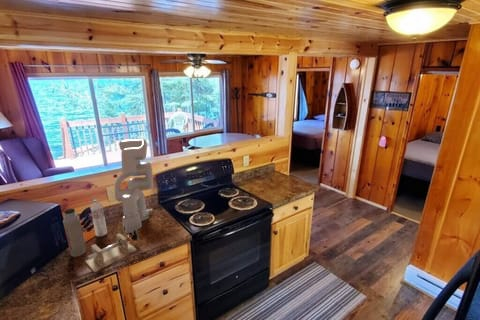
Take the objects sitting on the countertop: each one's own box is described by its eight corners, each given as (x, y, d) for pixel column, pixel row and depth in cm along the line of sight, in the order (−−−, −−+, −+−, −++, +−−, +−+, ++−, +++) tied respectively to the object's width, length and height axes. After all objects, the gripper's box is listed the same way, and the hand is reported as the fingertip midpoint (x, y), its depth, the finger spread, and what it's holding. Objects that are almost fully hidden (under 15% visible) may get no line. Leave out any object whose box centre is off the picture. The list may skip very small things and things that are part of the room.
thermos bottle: (72, 258, 147) (61, 215, 139) (69, 251, 153) (59, 209, 144) (87, 252, 152) (78, 210, 143) (85, 246, 158) (76, 205, 149)
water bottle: (93, 236, 168) (86, 201, 161) (101, 230, 174) (95, 197, 167) (101, 237, 166) (95, 203, 159) (109, 232, 172) (103, 198, 165)
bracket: (126, 242, 161) (124, 229, 158) (136, 250, 154) (134, 236, 151) (85, 262, 144) (82, 248, 141) (94, 272, 136) (91, 257, 133)
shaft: (128, 239, 158) (127, 233, 156) (132, 242, 155) (131, 236, 154) (87, 259, 140) (86, 252, 139) (90, 263, 138) (89, 256, 136)
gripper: (138, 206, 160) (142, 231, 166) (115, 216, 149) (120, 242, 155) (145, 210, 156) (148, 235, 162) (122, 220, 145) (126, 247, 151)
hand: (134, 239), depth 158 cm, fingers closed
